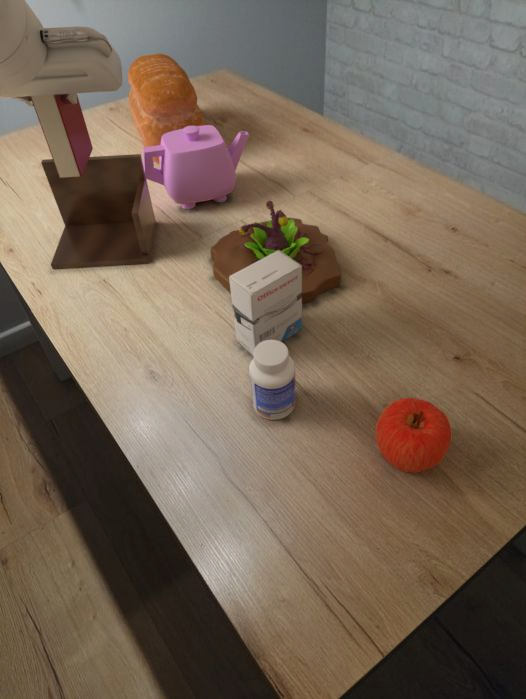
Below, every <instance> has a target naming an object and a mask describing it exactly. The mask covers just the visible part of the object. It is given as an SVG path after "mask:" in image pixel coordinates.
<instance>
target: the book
mask: <svg viewBox="0 0 526 699" xmlns="http://www.w3.org/2000/svg"><path fill="white" fill-rule="evenodd" d="M76 94H77V104H64V102H62V100H61V98H60V94H57V95H40V96H30V97H31V100H32V103H33V106H32V107H33V108H34V112H35V114H36V116H37V120H38V122H39V125H40V127H41V130H42V133H43V136H44V138H45V142H46V144H47V147H48V150H49V153H50V155H51V159H53V161H54V164H55V167H56V169H57V172H58V175H59V178H72V177H82V175H83V173H84V170H85V168H86V165H87V162H88V160H89V157H91V155H92V152H93V149H94V147H93V144H92V140H91V137H90V133H89V131H88V127H87V124H86V119H85V117H84V114H83V109H82V106H81V103H80V101H79V100H80V99H79V96H78V93H76Z"/></svg>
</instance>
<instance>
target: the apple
mask: <svg viewBox="0 0 526 699" xmlns="http://www.w3.org/2000/svg"><path fill="white" fill-rule="evenodd" d="M452 434H453V433H452V427H451V423H450V421H449V419H448V417H447V415H446V414H445V413H444V412H443V410H442V409H440V408H438V407H437V406H436V405H435V404H433V403H431V402H430V401H428V400H425V399H421V398H415V397H404V398H399V399H396V400H395V401H393V402H391V403H390V404H389V405H388V406H386V407H385V408H384V410H383V411H382V413H381V414H380V416H379V417H378V420H377V423H376V426H375V439H376V440H375V441H376V445H377V447H378V450H379V453H380V454H381V455H382V457H383V458H384V459H385V460H386V462H387V463H388V464H389V465H390V466H392V467H393V468H394V469H396V470H399V471H401V472H405V473H420V472H424V471H428V470H430V469H432V468H434V467H436V466H437V465H438V464H440V463H441V462H442V461H443V459H444V458H445V457H446V455H447V453H448V451H449V448H450V446H451V443H452V437H453V436H452Z"/></svg>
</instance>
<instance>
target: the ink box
mask: <svg viewBox="0 0 526 699" xmlns="http://www.w3.org/2000/svg"><path fill="white" fill-rule="evenodd" d="M229 281H230V289H231V293H230V298H231V304H232V305H231V307H232V314H233V322H234V331H235V339H236V341H237V342H238V343H239V344H240V345H241V346H242V347H243V348H244V350H246V351H247V352H248V353H249V354H250V355H252V356H253V353H254V349H255V347H256V346H257V345H258V344H259V343H261V342H263V341H266V340H277V341H280V342H282V343H284V341H286V340H288V339H290V337H292V336H294V335H295V334H297V333H298V332H300V331H301V330H302V317H303V315H302V312H303V310H302V308H303V304H302V265H300V264H299V263H298V262H296V261H295V260H293V259H292V258H290V257H289V256H287V255H286V254H284V253H283V252H281V251H280V250H277V251H276V252H274V253H272V254H270V255H268V256H266V257H265V258H263V259H261V260H259V261H257V262H255V263H253V264H251V265H250V266H248V267H246V268H244V269H242V270H240V271H238V272H236V273H234V274H232V275H231V276H229Z"/></svg>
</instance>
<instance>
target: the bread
mask: <svg viewBox="0 0 526 699" xmlns="http://www.w3.org/2000/svg"><path fill="white" fill-rule="evenodd" d="M127 72H128V73H127V81H128V83H129V86H130V88H129V95H128V102H129V104H128V105H129V110H130V113H131V116H132V119H133V122H134V124H135V127H136V129H137V131H138V133H139V137H140V138H141V139H142V144H143V146H144V147H151V146H157V145H161V139H162V136H163V135H164V134H165V133H168V132H171V131H175V130H179V129H184V128H185V127H187V126H204V125H207V124H206V120H205V117H204V114H203V112H202V111H201V110H202V109H201V108H200V107H199V105H198V95H197V92H196V89H195V87H194V86H193V84H192V83H191V80H190V78H189V75H188V73H187V72H186V70H185V69H184V68H182V66H180V65H179V63H178V61H176V60H175V59H174V58H172V57H171V56H170V55H167V54H164V53H153V54H147V55H141V56H139V57H137V58H135V60H134V61H133V62H132V63H131V64H130V66H129V68H128V71H127ZM144 147H143V148H144ZM153 162H155V163H157V164H159V165H160V163H159V157H153Z"/></svg>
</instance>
